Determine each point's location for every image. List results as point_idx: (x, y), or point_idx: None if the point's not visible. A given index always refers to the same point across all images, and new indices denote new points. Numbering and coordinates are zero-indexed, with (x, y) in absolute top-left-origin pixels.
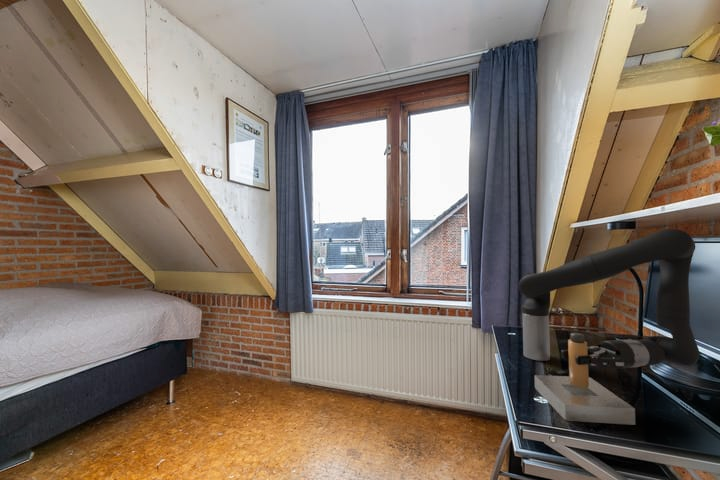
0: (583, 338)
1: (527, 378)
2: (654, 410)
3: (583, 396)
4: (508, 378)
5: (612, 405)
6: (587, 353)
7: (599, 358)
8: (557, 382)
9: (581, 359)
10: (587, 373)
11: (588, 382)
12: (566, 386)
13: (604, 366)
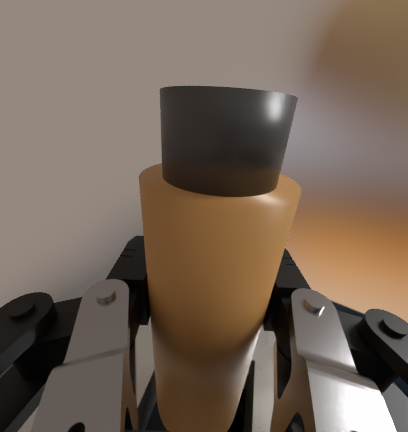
0: (161, 126)
1: (401, 381)
2: None
3: (146, 362)
4: (361, 316)
5: (30, 428)
6: (152, 283)
7: (29, 294)
8: (269, 359)
9: (134, 238)
10: (154, 365)
11: (160, 406)
12: (252, 391)
13: (9, 372)
